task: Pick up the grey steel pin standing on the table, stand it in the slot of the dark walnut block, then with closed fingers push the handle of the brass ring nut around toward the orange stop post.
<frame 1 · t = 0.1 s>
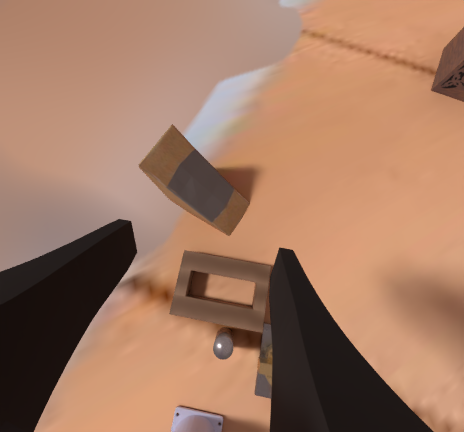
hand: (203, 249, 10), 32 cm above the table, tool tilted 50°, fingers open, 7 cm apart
sandwich container: (209, 202, 45), on the table
ring nut: (290, 369, 34), point 3 cm above the table, hinge at 0.0°
pin: (224, 336, 38), on the table
nut base: (290, 363, 37), on the table
slot block: (222, 288, 40), on the table
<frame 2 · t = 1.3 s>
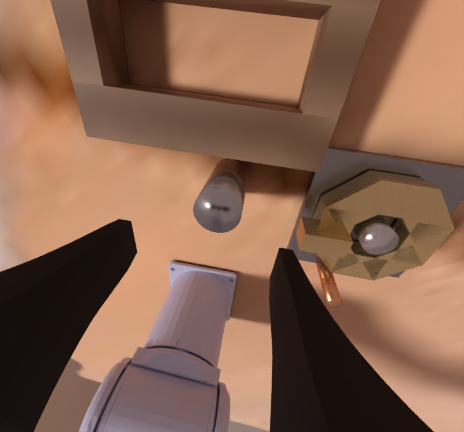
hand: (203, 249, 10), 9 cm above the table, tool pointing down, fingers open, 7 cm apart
ring nut: (367, 237, 16), point 3 cm above the table, hinge at 0.0°
pin: (231, 175, 18), on the table
nut base: (364, 218, 19), on the table
slot block: (213, 55, 14), on the table
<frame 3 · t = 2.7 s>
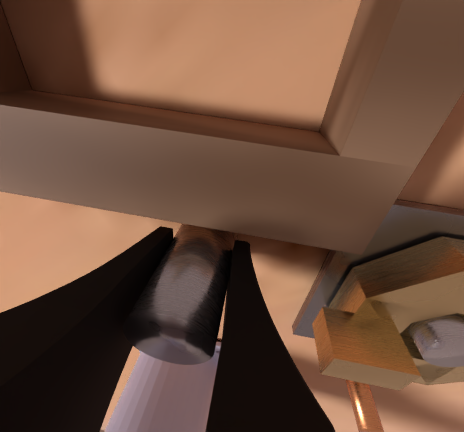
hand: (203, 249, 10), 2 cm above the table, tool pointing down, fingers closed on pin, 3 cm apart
ring nut: (431, 341, 10), point 3 cm above the table, hinge at 0.0°
pin: (210, 229, 12), on the table, touching gripper
nut base: (414, 293, 12), on the table
slot block: (165, 38, 7), on the table
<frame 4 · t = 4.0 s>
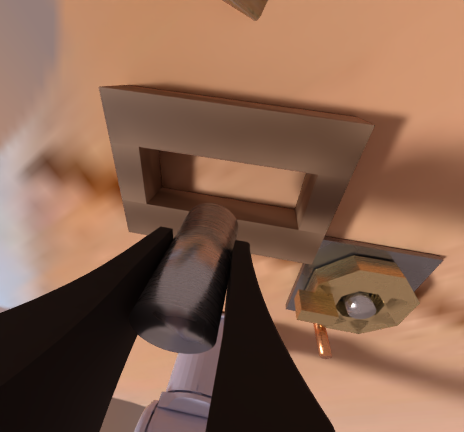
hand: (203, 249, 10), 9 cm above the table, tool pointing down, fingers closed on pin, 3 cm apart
ring nut: (352, 306, 20), point 3 cm above the table, hinge at 0.0°
pin: (212, 225, 12), point 7 cm above the table, touching gripper
nut base: (350, 283, 22), on the table
slot block: (229, 174, 18), on the table
when the fingers open (3 cm above the table, at t = 5.5 s): pin stays where it is, resting in slot block.
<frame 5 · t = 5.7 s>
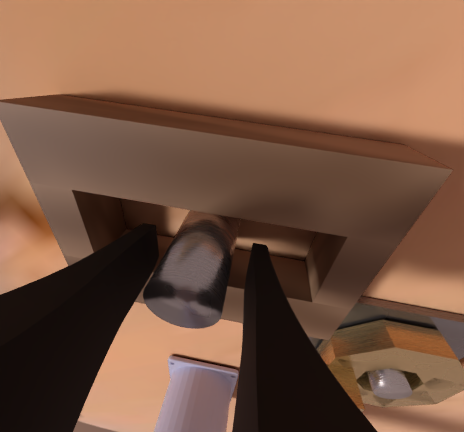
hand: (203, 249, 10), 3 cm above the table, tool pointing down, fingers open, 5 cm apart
ring nut: (378, 383, 15), point 3 cm above the table, hinge at 0.0°
pin: (215, 216, 13), resting in slot block
nut base: (373, 344, 18), on the table
slot block: (215, 217, 13), on the table
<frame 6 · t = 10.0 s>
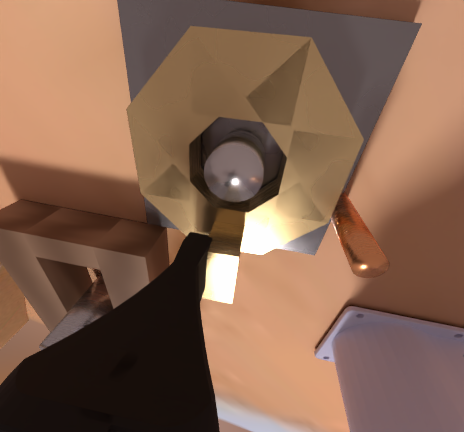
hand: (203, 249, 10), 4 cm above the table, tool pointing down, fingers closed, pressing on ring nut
ring nut: (232, 188, 9), point 3 cm above the table, hinge at 1.4°, touching gripper
pin: (113, 284, 20), resting in slot block
nut base: (242, 152, 11), on the table
slot block: (113, 284, 20), on the table
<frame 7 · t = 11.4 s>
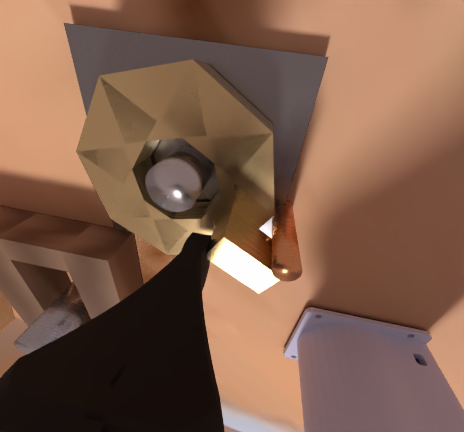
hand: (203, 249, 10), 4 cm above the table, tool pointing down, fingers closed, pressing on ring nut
ring nut: (188, 195, 10), point 3 cm above the table, hinge at 58.7°, touching gripper, nut base
pin: (91, 285, 21), resting in slot block
nut base: (193, 164, 12), on the table
slot block: (91, 285, 21), on the table
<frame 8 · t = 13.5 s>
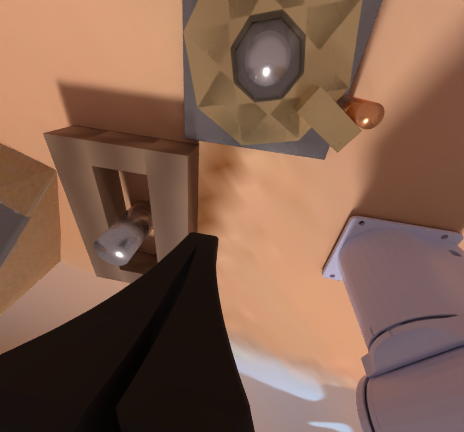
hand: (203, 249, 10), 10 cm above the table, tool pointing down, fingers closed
sandwich container: (26, 206, 25), on the table
ring nut: (277, 70, 12), point 3 cm above the table, hinge at 58.3°
pin: (146, 213, 22), resting in slot block
nut base: (267, 62, 14), on the table
slot block: (146, 213, 22), on the table
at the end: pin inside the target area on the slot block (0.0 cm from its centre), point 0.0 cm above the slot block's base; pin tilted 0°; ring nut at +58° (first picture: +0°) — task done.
